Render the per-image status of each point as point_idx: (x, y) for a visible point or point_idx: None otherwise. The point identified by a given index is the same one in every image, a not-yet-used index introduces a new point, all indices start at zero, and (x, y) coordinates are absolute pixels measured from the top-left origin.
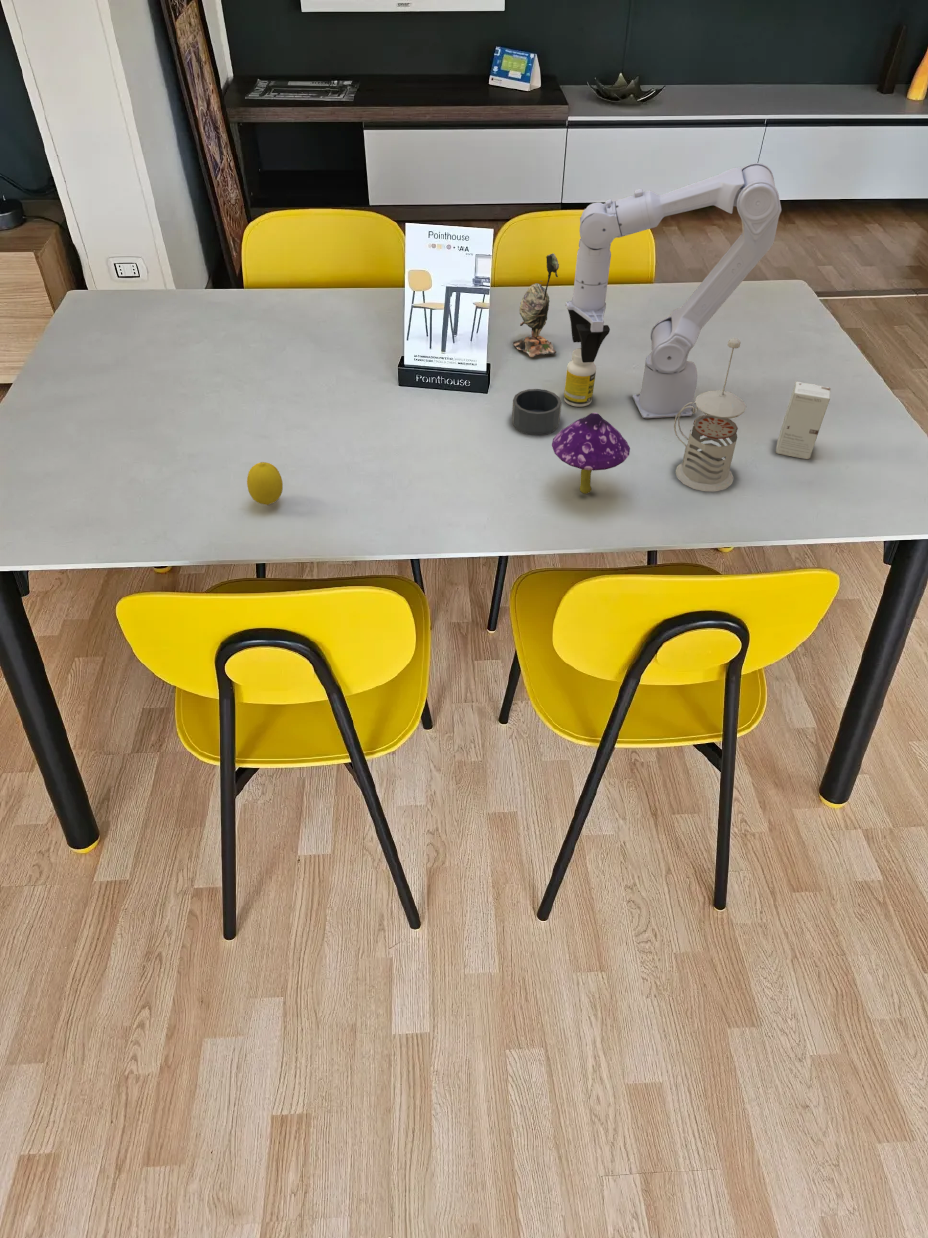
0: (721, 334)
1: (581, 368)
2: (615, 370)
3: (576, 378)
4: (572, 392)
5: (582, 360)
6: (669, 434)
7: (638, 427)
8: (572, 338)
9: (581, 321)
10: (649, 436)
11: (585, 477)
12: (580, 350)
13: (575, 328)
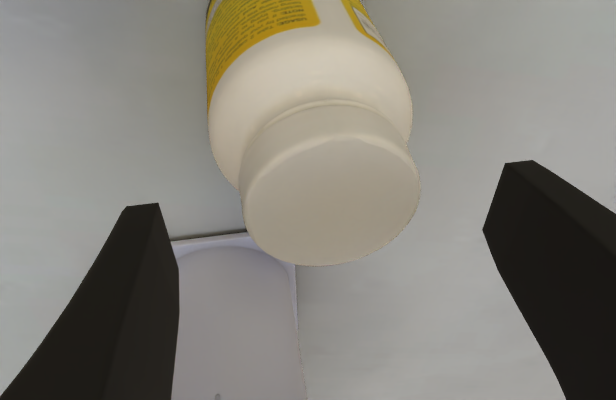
0: (553, 385)
1: (241, 139)
2: (491, 192)
3: (217, 73)
4: (222, 9)
5: (124, 215)
6: (44, 297)
7: (68, 226)
8: (547, 169)
9: (608, 364)
10: (7, 251)
11: None
12: (378, 192)
13: (583, 266)
